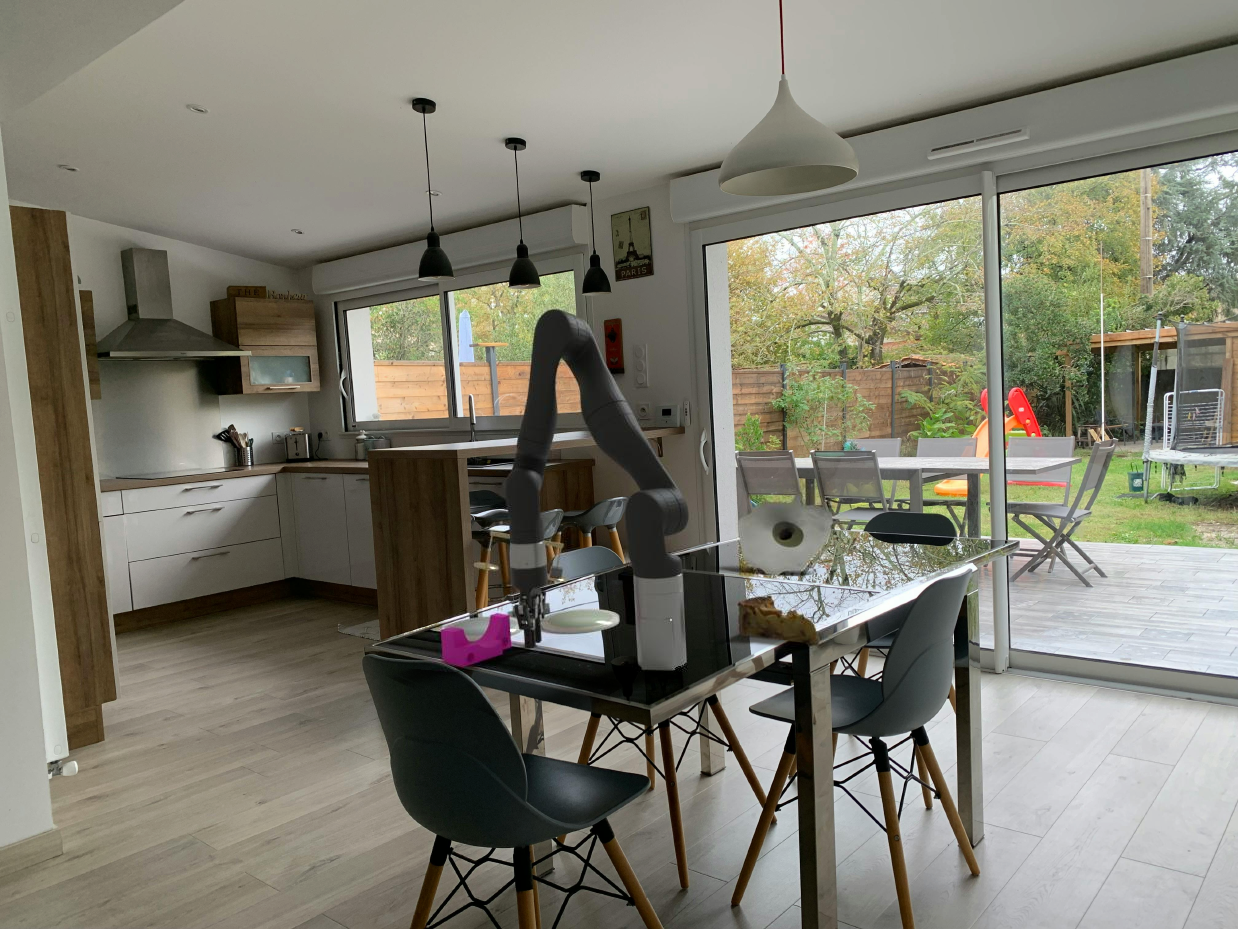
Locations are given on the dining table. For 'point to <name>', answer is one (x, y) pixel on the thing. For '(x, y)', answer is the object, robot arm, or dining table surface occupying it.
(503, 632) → the toy block
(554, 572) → the balance beam
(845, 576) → the dining table surface
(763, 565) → the flower planter
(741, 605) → the pie slice
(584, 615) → the sage dish
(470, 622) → the grey dish
